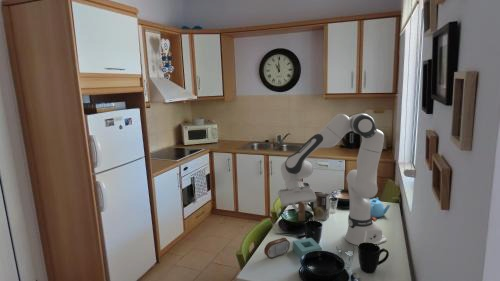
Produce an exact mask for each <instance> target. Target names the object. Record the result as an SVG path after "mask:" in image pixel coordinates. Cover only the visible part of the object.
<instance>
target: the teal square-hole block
mask: <svg viewBox="0 0 500 281" xmlns="http://www.w3.org/2000/svg"><path fill="white" fill-rule="evenodd" d="M322 248H323V246H322V247H321V245H320V244H319V243H318V242H316V240H314V239H313V237H308V238H307V237H306V238H302V239H298V240H293V241H292V250H293V252H294V253H295V252H296V253H295V254H296V255H297V256H298V257H299V259H300V258H301V257H302V256H303V255H305V254H307V253H309V252H312V251H322V250H323V249H322Z"/></svg>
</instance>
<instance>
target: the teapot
mask: <svg viewBox="0 0 500 281" xmlns="http://www.w3.org/2000/svg"><path fill="white" fill-rule="evenodd" d="M369 199H370V203H371V211H370V216H372V217H374V218H376V219H378V218H379V219H380V218H382V217H384V216H385V215H386V213H387V212H388V210H389V208H390V207H391V204H387V205H386V206H385V207H384V204H383V202H382V201H381V200H379V197H376V198H375V197H372V198H369Z"/></svg>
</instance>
